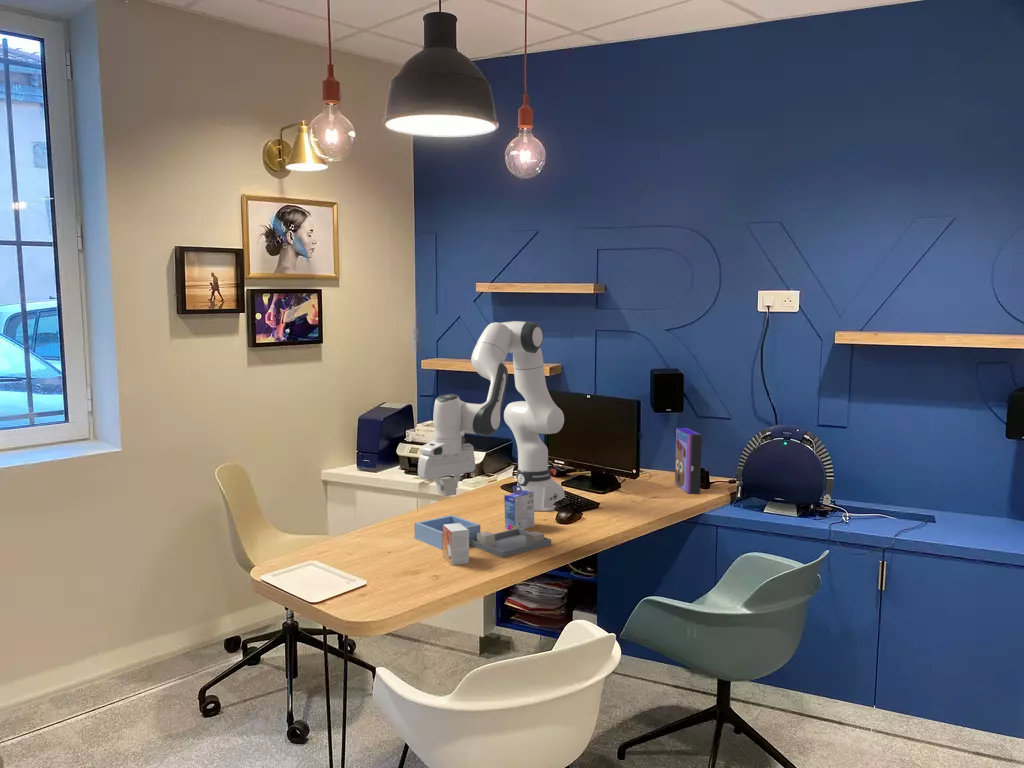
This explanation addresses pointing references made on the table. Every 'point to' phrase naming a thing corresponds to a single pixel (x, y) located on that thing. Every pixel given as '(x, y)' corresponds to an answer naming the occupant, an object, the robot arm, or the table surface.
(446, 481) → the beige cardboard cube
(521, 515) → the ink cartridge box
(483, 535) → the cream sharp-edged cube
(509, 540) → the parts tray
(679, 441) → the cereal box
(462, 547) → the small box
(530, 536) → the gray cube
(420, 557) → the table surface
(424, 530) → the blue square bin
